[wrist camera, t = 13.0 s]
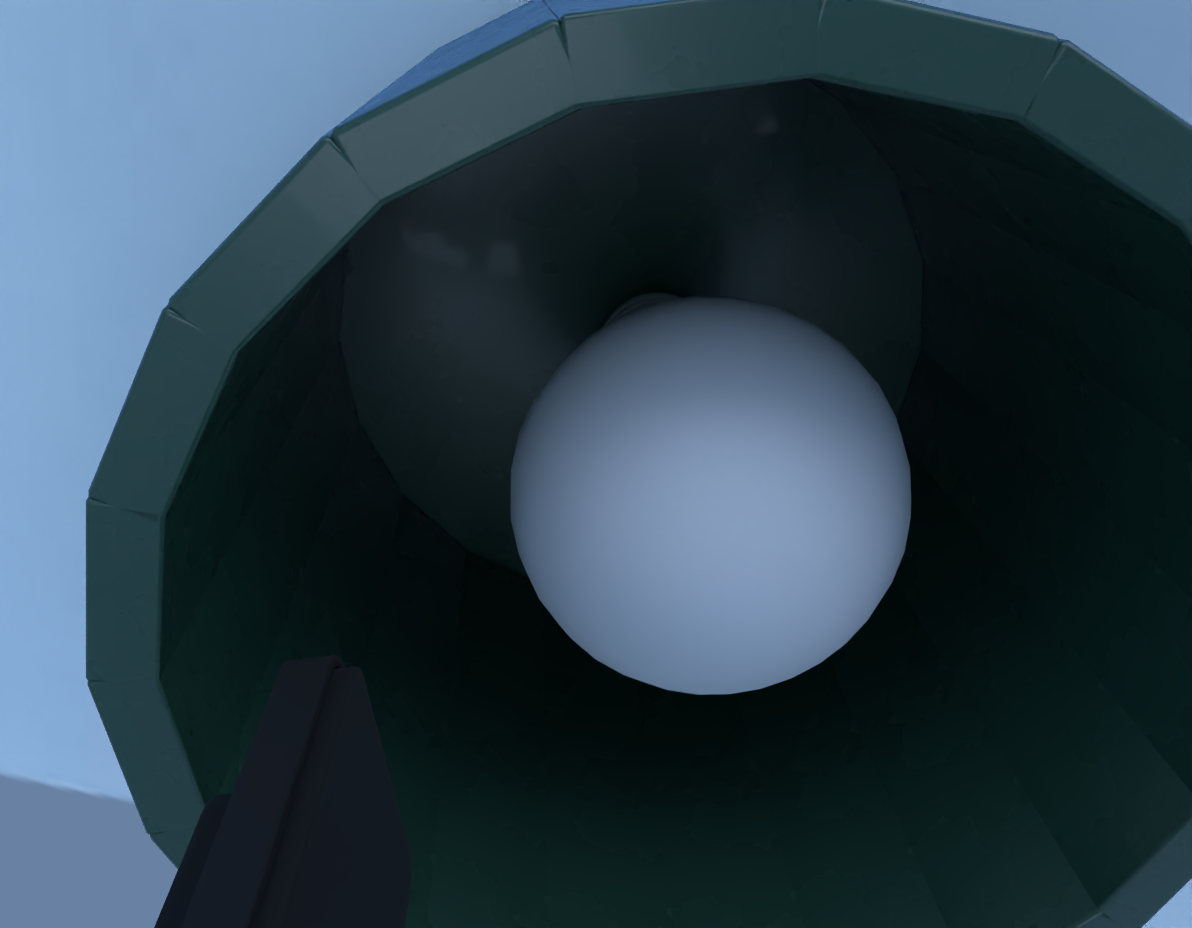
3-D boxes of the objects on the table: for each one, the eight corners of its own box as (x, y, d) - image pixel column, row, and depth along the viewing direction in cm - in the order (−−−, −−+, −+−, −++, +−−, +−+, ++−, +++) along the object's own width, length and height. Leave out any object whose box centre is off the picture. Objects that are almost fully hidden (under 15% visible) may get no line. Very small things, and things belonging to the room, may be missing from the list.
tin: (958, -59, 21) (1519, -111, 9) (941, 566, 27) (1262, 1017, 15) (234, 35, 21) (-147, 106, 9) (382, 641, 27) (272, 1151, 15)
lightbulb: (841, 321, 24) (1072, 570, 14) (658, 507, 25) (745, 850, 15) (642, 137, 22) (742, 271, 12) (458, 352, 23) (409, 628, 13)
